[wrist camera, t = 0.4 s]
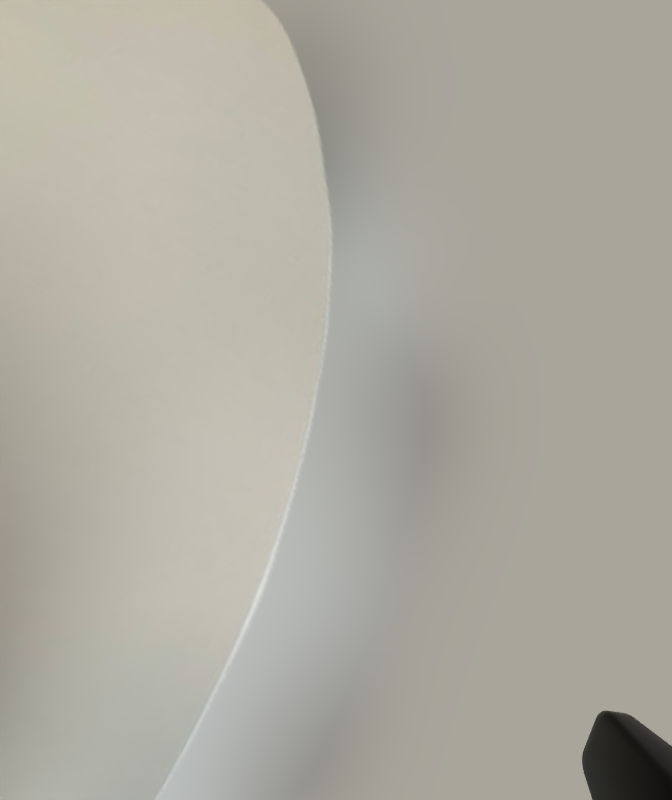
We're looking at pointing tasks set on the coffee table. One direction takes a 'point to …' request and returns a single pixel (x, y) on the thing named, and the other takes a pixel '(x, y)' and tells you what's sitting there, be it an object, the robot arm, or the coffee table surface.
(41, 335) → the coffee table surface
